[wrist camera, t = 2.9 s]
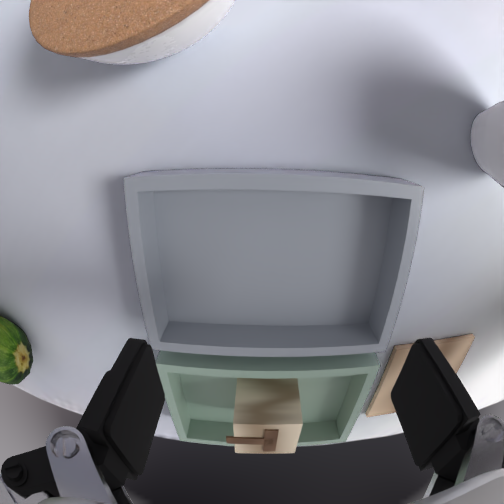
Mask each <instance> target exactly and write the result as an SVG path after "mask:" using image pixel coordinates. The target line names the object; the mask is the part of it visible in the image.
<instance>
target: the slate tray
mask: <svg viewBox="0 0 504 504" xmlns="http://www.w3.org/2000/svg"><path fill="white" fill-rule="evenodd" d="M123 180H124V193H125V204H126V214H127V223H128V231H129V239H130V246H131V253H132V259H133V266H134V272H135V277H136V283H137V288H138V294H139V299H140V304H141V308H142V313H143V318H144V322H145V326H146V331H147V335H148V339H149V343H150V345H151V347H152V349H153V350H162V351H171V352H181V353H193V354H207V355H223V356H249V357H308V356H333V355H350V354H363V353H374V352H384V351H386V349H387V346H388V343H389V340H390V337H391V335H392V332H393V328H394V325H395V322H396V319H397V316H398V313H399V309H400V306H401V302H402V299H403V295H404V291H405V288H406V284H407V280H408V276H409V272H410V267H411V263H412V259H413V254H414V249H415V244H416V239H417V234H418V228H419V222H420V216H421V209H422V202H423V195H424V187H423V186H420V185H418V184H415V183H412V182H409V181H406V180H403V179H398V178H390V177H382V176H373V175H363V174H353V173H341V172H328V171H312V170H293V169H261V168H210V169H178V170H159V171H144V172H141V173H137V174H134V175H131V176H128V177H125V178H123Z"/></svg>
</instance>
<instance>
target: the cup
mask: <svg viewBox="0 0 504 504" xmlns="http://www.w3.org/2000/svg"><path fill="white" fill-rule="evenodd" d="M471 147H472V152H473V155H474V158H475V160H476V162H477V164H478V165H479V167H480V168H481V169H482V170H483V171H484V172H486V173H487V174H488V175H489V176H490V177H492V178H493V179H494V180H495V181H496V182H498V183H499V184H500V185H501V186H502V187H504V101H502V102H499V103H497V104H495V105H493V106H492V107H490V108H488V109H487V110H485V111H483V112H481V113H480V114H478V115H477V116H476V118H475V119H474V121H473V124H472V128H471Z"/></svg>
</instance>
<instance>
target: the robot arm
mask: <svg viewBox="0 0 504 504" xmlns="http://www.w3.org/2000/svg"><path fill="white" fill-rule="evenodd" d="M391 400H392V403H393V405H394V408H395V410H396V413H397V416H398V418H399V421H400V423H401V426H402V429H403V431H404V434H405V437H406V440H407V442H408V445H409V448H410V451H411V454H412V456H413V459H414V462H415V464H416V465H417V466H419V468H420V470H421V471H423V470H426V469H429V468H432V467H434V470H435V472H434V475H433V478H432V480H431V482H430V484H429V487H428V489H427V491H426V493H425V496H424V498H423V499H421V500H418V501H415V502H413V503H409V504H504V422H503V421H502V420H501V419H500V418H499V417H497V416H495V415H486V416H484V417H482V418H481V420H479V418H478V417H479V415H480V413H479V411H478V409H477V407H476V406H475V404H474V402H473V401H472V399H471V397H470V396H469V394H468V392H467V391H466V389H465V387H464V386H463V384H462V382H461V381H460V379H459V378H458V376H457V375H456V373H455V371H454V370H453V368H452V367H451V365H450V364H449V362H448V361H447V359H446V358H445V356H444V355H443V353H442V352H441V350H440V349H439V348H438V346H437V345H436V343H435V342H434V340H433V339H432V338H425V339H418V340H417V341H416V342H415V343H414V344H413V345H412V346H411V348H410V351H409V353H408V356H407V358H406V360H405V363H404V365H403V367H402V369H401V372H400V374H399V376H398V378H397V380H396V382H395V385H394V387H393V389H392V391H391ZM164 401H165V393H164V390H163V387H162V383H161V380H160V376H159V373H158V369H157V366H156V362H155V358H154V355H153V351H152V347H151V345H148V344H147V342H146V341H145V340H141V339H133V338H130V339H128V340H127V342H126V344H125V346H124V347H123V349H122V351H121V353H120V354H119V356H118V358H117V360H116V362H115V363H114V365H113V367H112V369H111V370H109V371H107V372H106V374H105V375H104V377H103V379H102V380H101V382H100V384H99V386H98V388H97V390H96V391H95V393H94V395H93V397H92V399H91V401H90V403H89V405H88V406H87V408H86V410H85V412H84V414H83V416H82V419H81V420H80V422H79V424H78V426H77V428H76V429H75V428H73V427H68V426H64V427H59V428H57V429H55V430H54V431H52V432H51V433H50V434H49V436H48V438H47V441H46V446H45V447H42V448H39V449H35V450H32V451H29V452H26V453H23V454H20V455H16V456H12V457H10V458H8V459H7V460H6V461H5V462H4V463H3V465H2V469H1V474H0V504H133V503H132V501H131V500H130V497H129V496H128V494H127V492H126V490H125V488H124V487H123V486H124V484H125V480H126V478H129V479H133V480H136V479H137V476H138V475H141V474H142V473H143V471H144V467H145V464H146V460H147V457H148V454H149V450H150V447H151V444H152V440H153V437H154V434H155V430H156V427H157V424H158V420H159V417H160V414H161V411H162V408H163V404H164Z"/></svg>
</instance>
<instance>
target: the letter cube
mask: <svg viewBox="0 0 504 504" xmlns="http://www.w3.org/2000/svg"><path fill="white" fill-rule="evenodd" d="M302 425H303V420H302V411H301V403H300V395H299V387H298V379H297V378H286V379H263V378H237V385H236V396H235V407H234V417H233V431H234V436H226V442H227V443H228V444H235V453H264V454H266V453H268V454H269V453H295V450H296V447H297V443H298V440H299V436H300V433H301V429H302Z"/></svg>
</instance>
